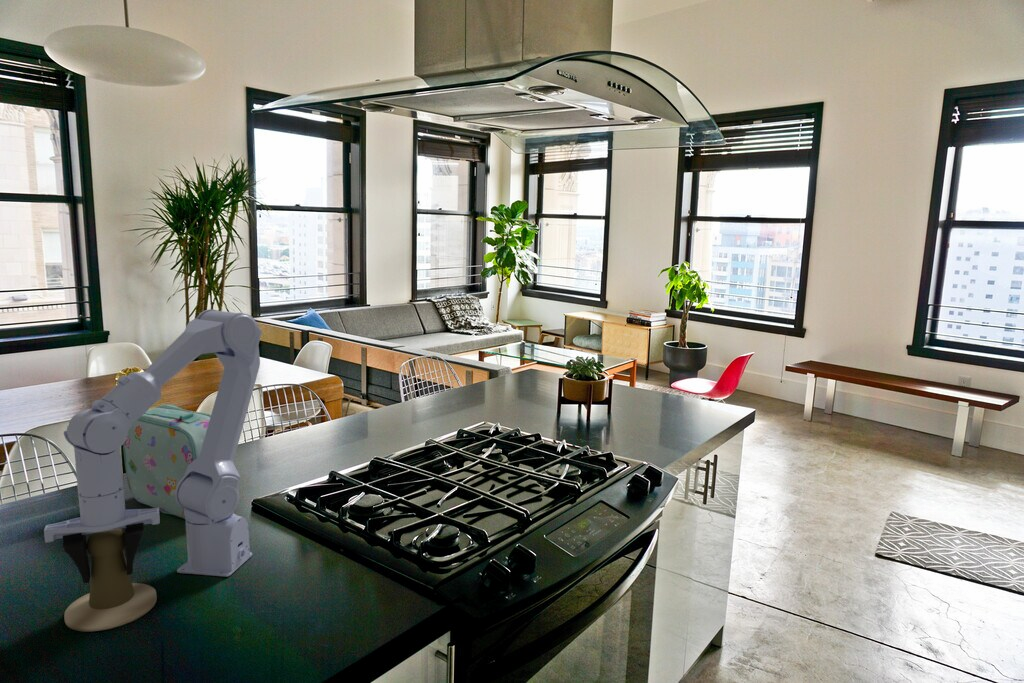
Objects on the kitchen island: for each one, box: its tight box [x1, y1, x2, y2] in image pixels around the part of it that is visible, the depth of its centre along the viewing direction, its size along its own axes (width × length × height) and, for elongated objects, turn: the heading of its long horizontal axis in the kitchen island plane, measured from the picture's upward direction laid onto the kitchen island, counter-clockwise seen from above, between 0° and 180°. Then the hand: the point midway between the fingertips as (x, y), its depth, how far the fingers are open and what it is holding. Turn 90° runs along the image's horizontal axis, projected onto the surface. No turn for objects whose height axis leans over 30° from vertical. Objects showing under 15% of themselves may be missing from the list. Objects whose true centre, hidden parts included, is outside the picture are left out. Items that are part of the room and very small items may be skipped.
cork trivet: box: [63, 582, 158, 632], centre depth 100 cm, size 12×12×1 cm
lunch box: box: [122, 404, 211, 520], centre depth 137 cm, size 27×10×21 cm, turn 61°
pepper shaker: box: [86, 528, 134, 609], centre depth 101 cm, size 6×6×11 cm
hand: (108, 575), depth 100 cm, fingers closed on pepper shaker, 5 cm apart
